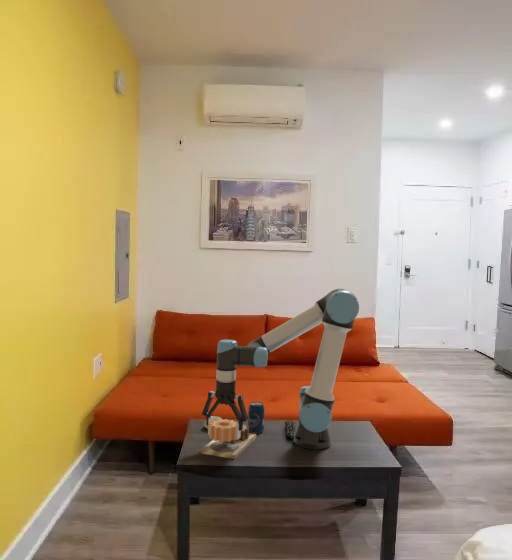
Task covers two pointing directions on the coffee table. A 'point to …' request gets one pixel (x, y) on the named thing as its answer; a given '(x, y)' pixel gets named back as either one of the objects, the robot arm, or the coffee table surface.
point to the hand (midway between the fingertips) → (224, 436)
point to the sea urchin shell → (213, 420)
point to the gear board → (230, 445)
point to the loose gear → (223, 430)
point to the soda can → (256, 417)
